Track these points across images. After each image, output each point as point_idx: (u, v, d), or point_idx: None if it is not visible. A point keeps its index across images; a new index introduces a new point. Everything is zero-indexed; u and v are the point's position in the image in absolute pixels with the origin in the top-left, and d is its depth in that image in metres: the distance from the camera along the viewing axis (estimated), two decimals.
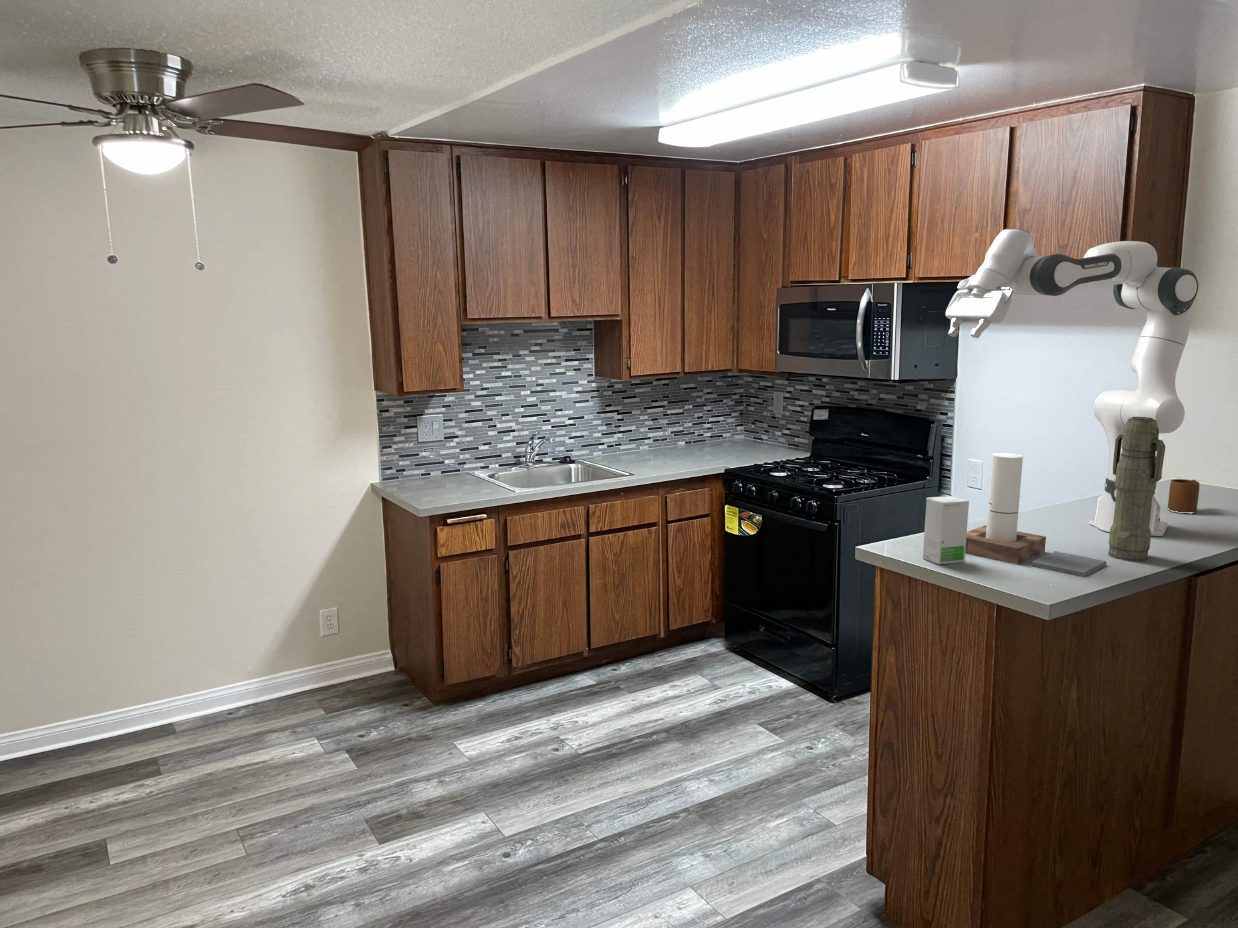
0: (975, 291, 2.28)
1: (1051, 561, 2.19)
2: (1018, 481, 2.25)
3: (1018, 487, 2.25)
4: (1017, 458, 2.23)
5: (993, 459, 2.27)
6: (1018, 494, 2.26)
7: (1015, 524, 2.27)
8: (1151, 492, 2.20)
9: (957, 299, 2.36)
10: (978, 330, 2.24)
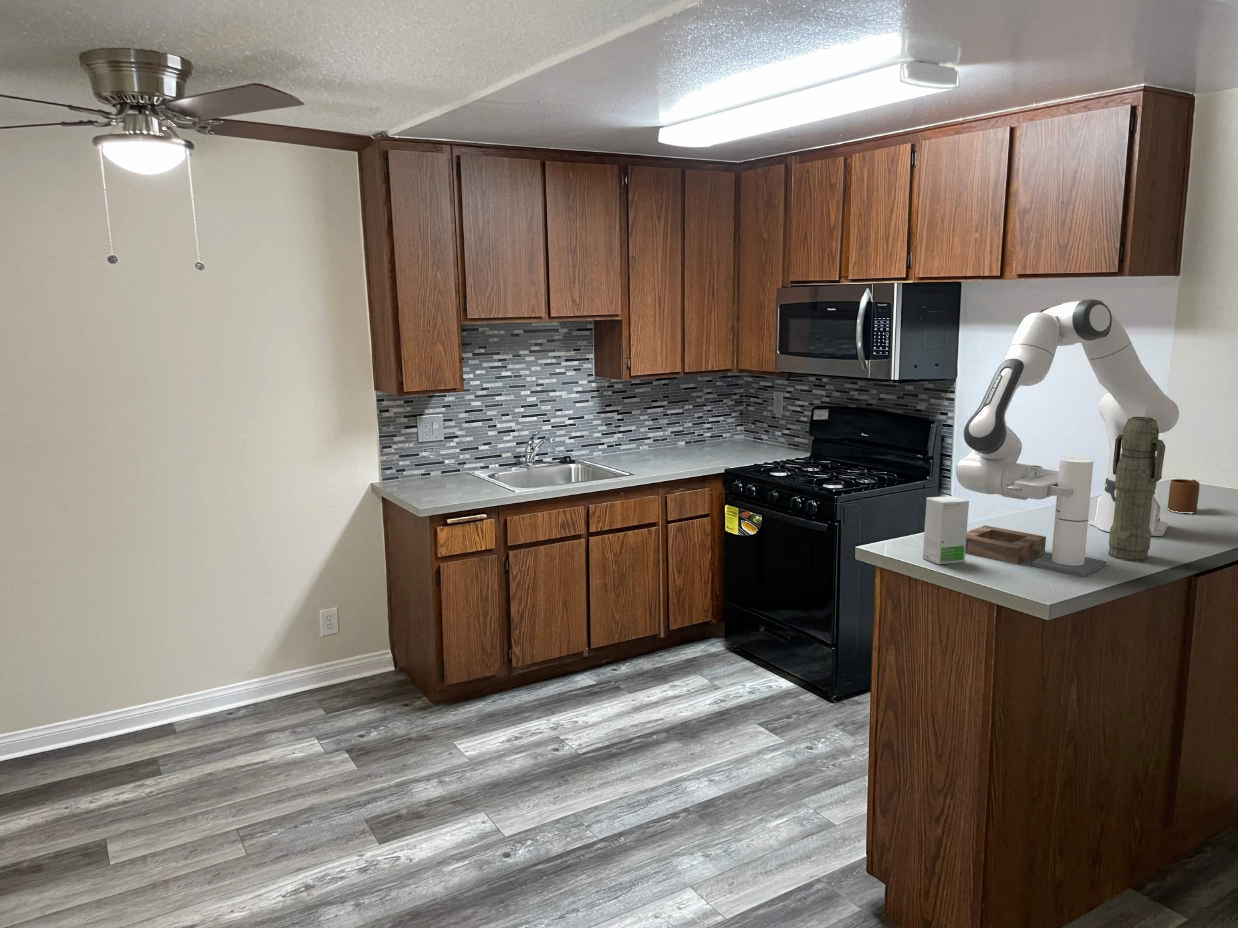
0: None
1: (1051, 561, 2.19)
2: (1088, 487, 2.12)
3: (1088, 493, 2.13)
4: (1088, 463, 2.11)
5: (1061, 464, 2.14)
6: (1088, 501, 2.13)
7: (1085, 533, 2.15)
8: (1151, 492, 2.20)
9: None
10: (1063, 493, 2.13)
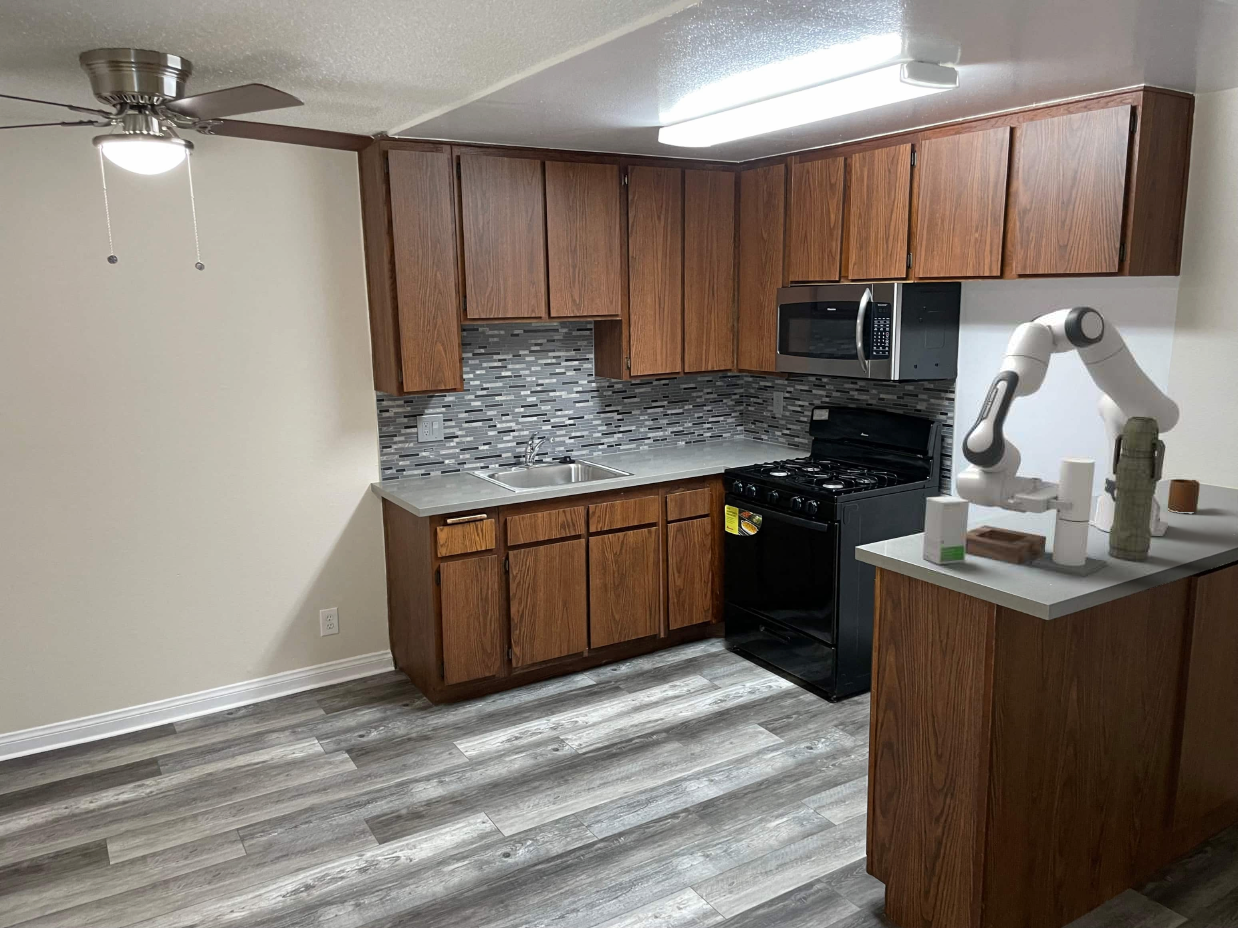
0: None
1: (1051, 561, 2.19)
2: (1089, 488, 2.12)
3: (1089, 494, 2.13)
4: (1088, 463, 2.11)
5: (1062, 464, 2.14)
6: (1089, 501, 2.13)
7: (1085, 533, 2.14)
8: (1151, 492, 2.20)
9: None
10: (1062, 506, 2.13)
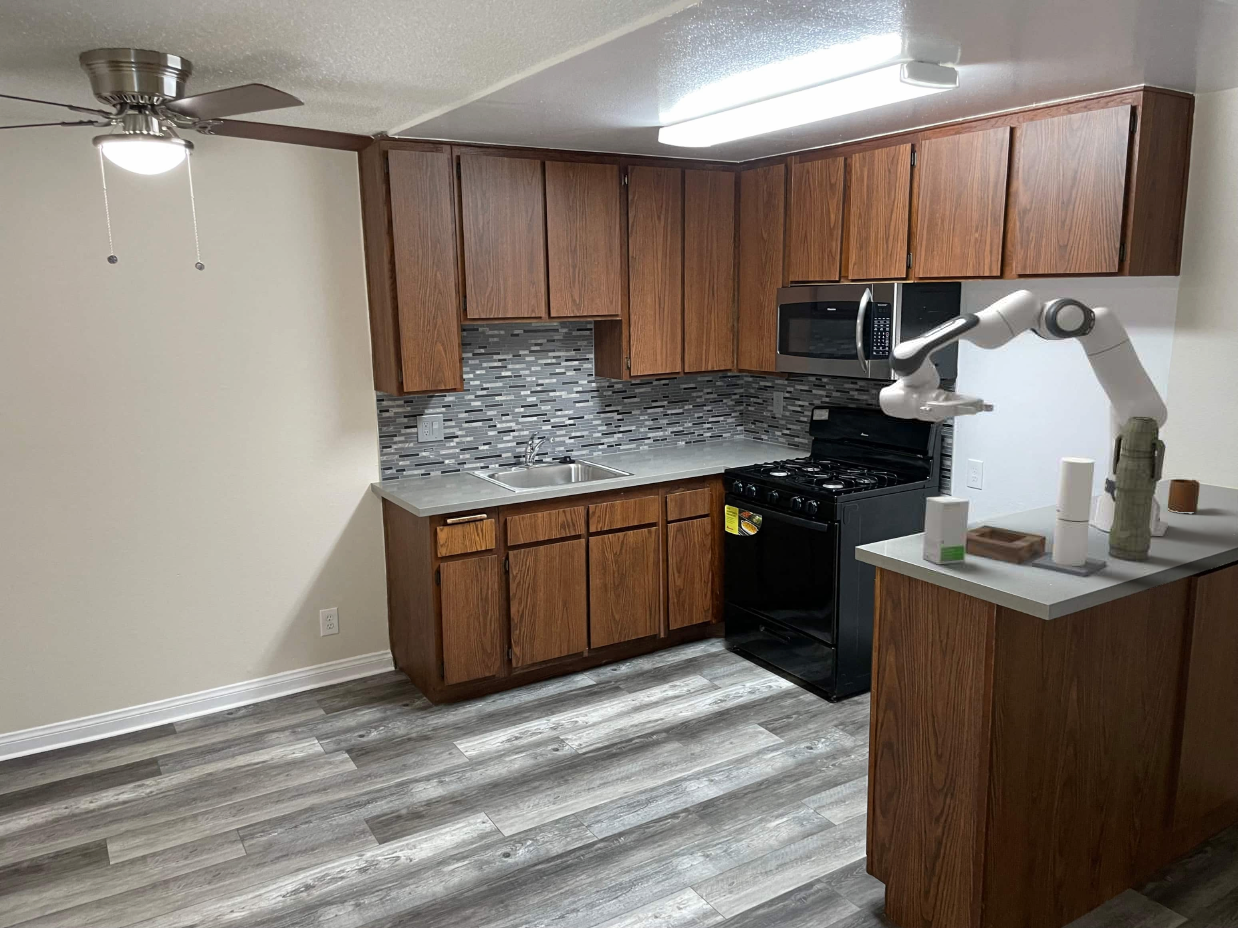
0: (942, 417, 2.45)
1: (1051, 561, 2.19)
2: (1089, 488, 2.12)
3: (1089, 494, 2.13)
4: (1088, 463, 2.11)
5: (1062, 464, 2.14)
6: (1089, 501, 2.13)
7: (1085, 533, 2.14)
8: (1151, 492, 2.20)
9: None
10: (967, 412, 2.35)
